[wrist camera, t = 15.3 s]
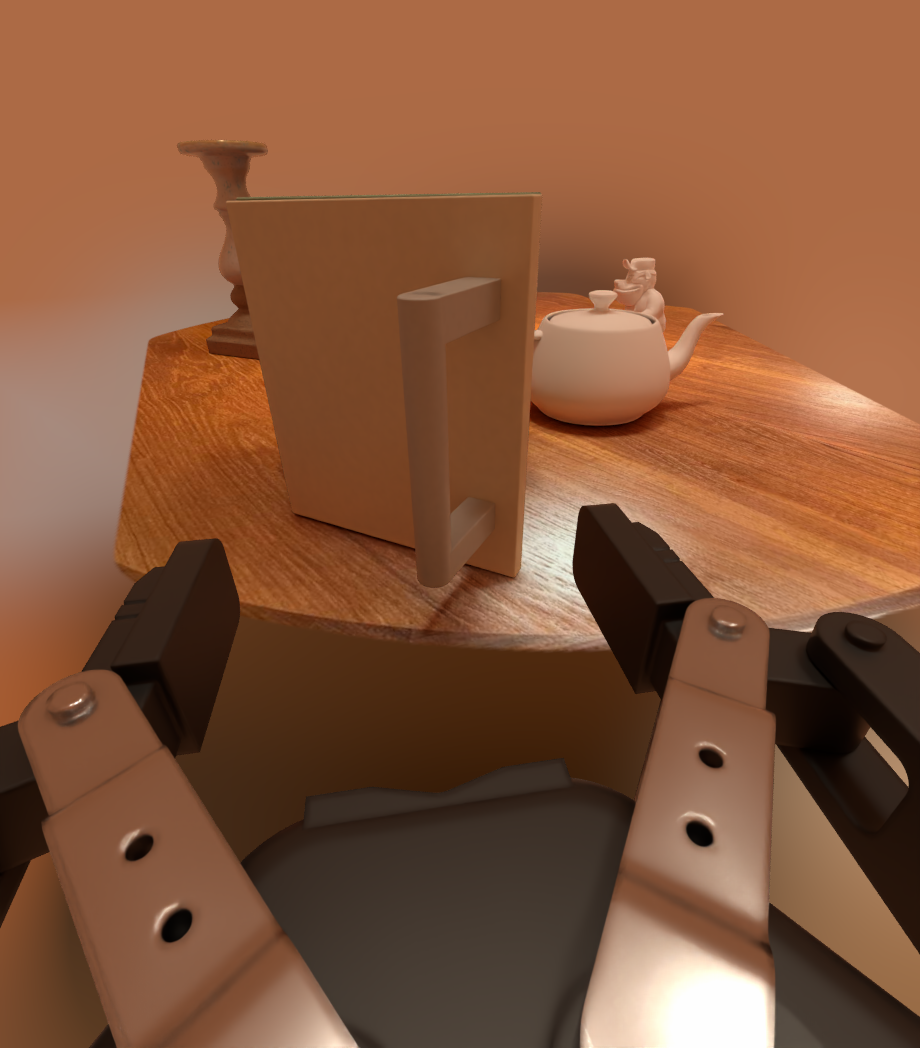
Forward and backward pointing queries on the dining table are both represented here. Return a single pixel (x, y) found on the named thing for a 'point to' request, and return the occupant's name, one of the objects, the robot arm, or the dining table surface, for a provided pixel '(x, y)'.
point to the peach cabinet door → (400, 364)
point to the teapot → (606, 362)
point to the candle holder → (229, 235)
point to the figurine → (641, 289)
